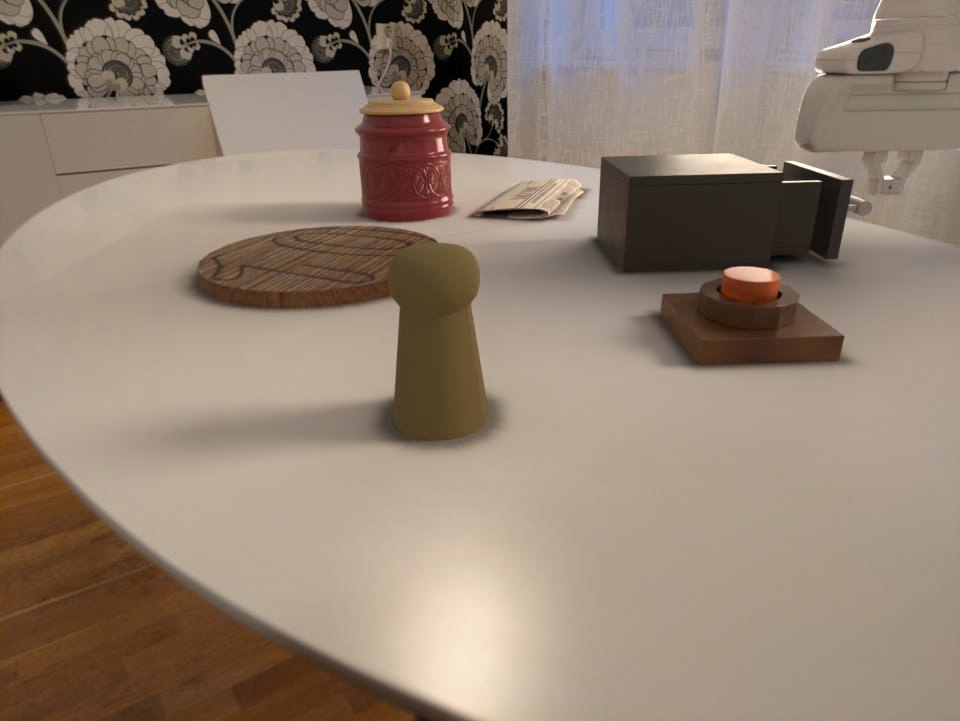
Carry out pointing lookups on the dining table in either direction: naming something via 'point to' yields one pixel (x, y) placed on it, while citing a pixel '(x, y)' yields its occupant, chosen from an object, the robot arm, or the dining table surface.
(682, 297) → the control block
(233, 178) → the dining table surface
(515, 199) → the newspaper
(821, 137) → the robot arm
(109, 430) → the dining table surface
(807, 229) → the dark piece
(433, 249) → the olive game pawn
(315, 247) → the trivet
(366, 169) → the kitchen canister
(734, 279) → the button
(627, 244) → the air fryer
